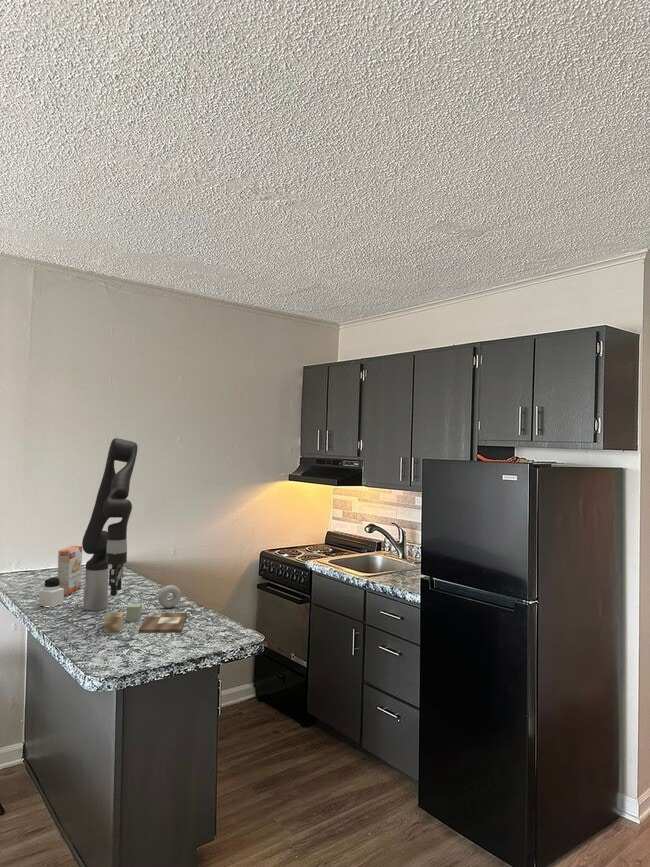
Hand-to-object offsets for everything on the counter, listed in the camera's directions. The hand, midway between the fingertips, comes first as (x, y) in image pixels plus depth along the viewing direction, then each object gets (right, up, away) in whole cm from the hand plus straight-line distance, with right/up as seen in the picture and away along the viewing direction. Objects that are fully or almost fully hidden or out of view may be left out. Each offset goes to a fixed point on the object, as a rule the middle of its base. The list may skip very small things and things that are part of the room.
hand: (115, 592), depth 237 cm
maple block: (-1, -14, 0) cm, 14 cm away
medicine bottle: (-39, -14, +31) cm, 51 cm away
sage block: (+3, -15, +13) cm, 20 cm away
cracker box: (-40, -14, +53) cm, 68 cm away
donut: (+13, -15, +32) cm, 37 cm away
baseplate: (+16, -15, +9) cm, 24 cm away
